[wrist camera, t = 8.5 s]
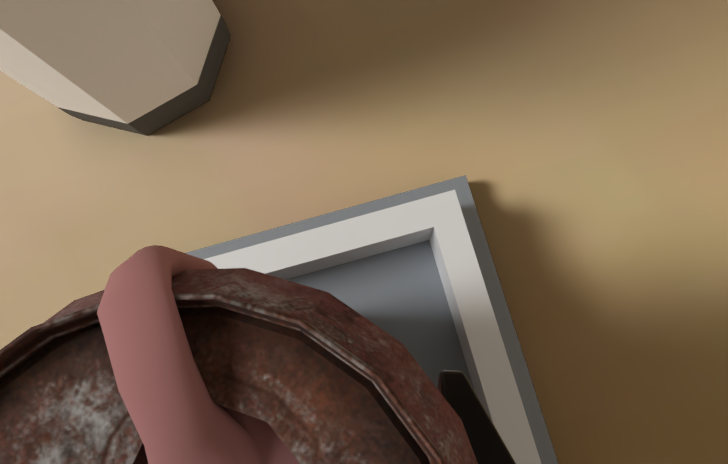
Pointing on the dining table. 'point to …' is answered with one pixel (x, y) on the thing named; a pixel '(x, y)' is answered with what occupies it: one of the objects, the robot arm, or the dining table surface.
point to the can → (217, 377)
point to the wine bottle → (115, 57)
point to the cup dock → (415, 292)
